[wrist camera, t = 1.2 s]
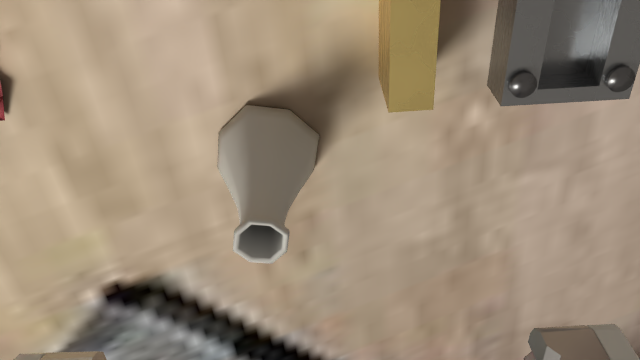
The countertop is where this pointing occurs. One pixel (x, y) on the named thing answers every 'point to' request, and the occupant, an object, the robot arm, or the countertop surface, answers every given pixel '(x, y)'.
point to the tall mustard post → (408, 53)
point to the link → (564, 51)
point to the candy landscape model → (1, 105)
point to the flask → (265, 175)
